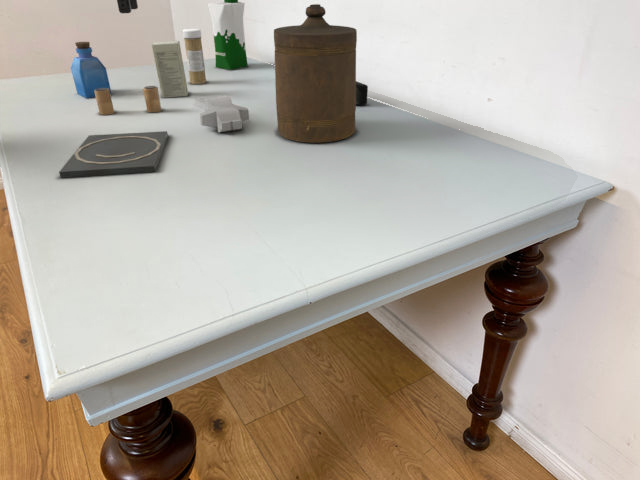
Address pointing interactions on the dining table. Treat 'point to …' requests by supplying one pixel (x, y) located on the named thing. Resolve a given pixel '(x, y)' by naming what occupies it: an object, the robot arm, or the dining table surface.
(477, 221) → the dining table surface
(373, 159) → the dining table surface
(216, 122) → the grey angular block
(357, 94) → the mobile phone
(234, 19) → the milk carton
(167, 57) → the cosmetic box
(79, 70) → the perfume bottle
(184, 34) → the sprinkles bottle
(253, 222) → the dining table surface
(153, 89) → the peg right
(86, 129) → the dining table surface
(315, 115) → the wooden container
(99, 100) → the peg left
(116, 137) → the slate board
